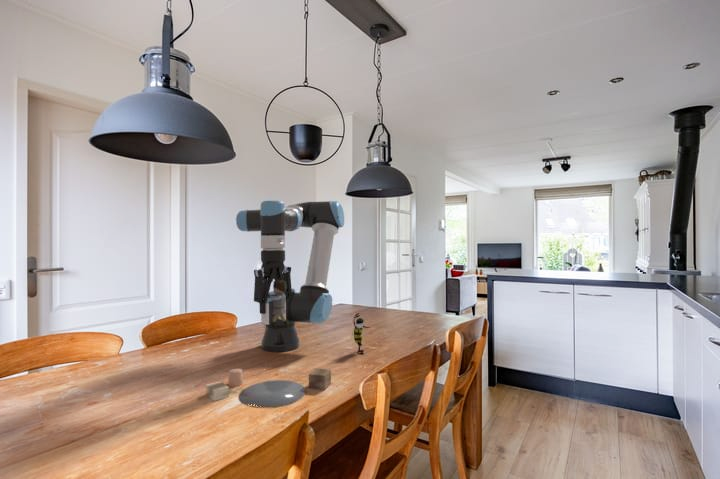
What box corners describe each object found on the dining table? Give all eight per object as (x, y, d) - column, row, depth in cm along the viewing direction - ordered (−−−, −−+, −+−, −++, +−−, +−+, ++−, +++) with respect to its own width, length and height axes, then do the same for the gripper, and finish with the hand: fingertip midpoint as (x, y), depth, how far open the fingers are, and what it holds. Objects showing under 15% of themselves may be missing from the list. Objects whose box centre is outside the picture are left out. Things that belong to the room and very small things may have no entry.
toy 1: (262, 324, 123) (262, 278, 122) (290, 325, 121) (290, 279, 120) (251, 330, 115) (251, 281, 115) (280, 331, 113) (280, 282, 113)
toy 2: (370, 355, 140) (370, 315, 140) (350, 355, 140) (350, 315, 140) (370, 350, 147) (370, 312, 147) (351, 350, 147) (351, 312, 147)
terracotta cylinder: (225, 388, 110) (225, 371, 110) (237, 384, 113) (237, 367, 113) (233, 391, 107) (233, 374, 107) (245, 387, 111) (245, 370, 111)
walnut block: (308, 391, 108) (308, 374, 108) (315, 384, 113) (315, 368, 112) (325, 393, 106) (324, 375, 106) (331, 386, 111) (330, 369, 111)
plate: (225, 400, 102) (225, 395, 102) (275, 379, 116) (275, 376, 116) (269, 418, 91) (269, 413, 91) (318, 393, 106) (318, 389, 106)
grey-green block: (206, 399, 103) (206, 384, 103) (220, 394, 106) (220, 380, 106) (214, 406, 98) (214, 391, 98) (229, 401, 101) (228, 387, 101)
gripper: (256, 251, 108) (257, 329, 109) (302, 248, 124) (303, 317, 124) (240, 250, 113) (241, 326, 113) (287, 248, 128) (287, 314, 129)
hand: (273, 321), depth 119 cm, fingers open, 6 cm apart
